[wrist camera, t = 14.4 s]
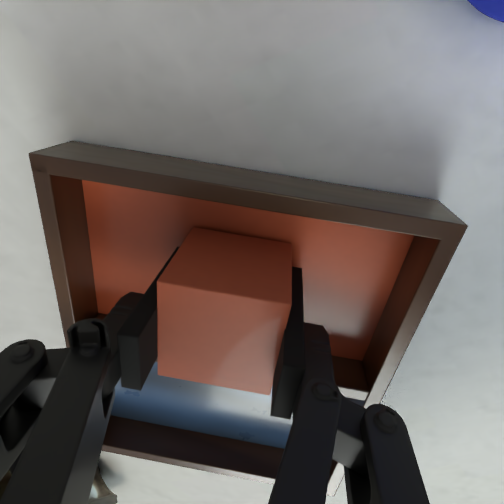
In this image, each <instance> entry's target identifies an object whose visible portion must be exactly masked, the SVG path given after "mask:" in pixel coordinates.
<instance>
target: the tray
mask: <svg viewBox="0 0 504 504" xmlns="http://www.w3.org/2000/svg"><path fill="white" fill-rule="evenodd" d="M29 158H30V163H31V168H32V172H33V177H34V182H35V188H36V193H37V198H38V203H39V208H40V213H41V218H42V224H43V229H44V234H45V239H46V244H47V249H48V254H49V259H50V265H51V270H52V275H53V280H54V285H55V290H56V295H57V301H58V306H59V311H60V316H61V321H62V326H63V331H64V337H65V342H66V347H67V348H69V347H70V346H69V340H68V335H67V330H68V329H69V327H70V326H71V325H73V324H74V323H76V322H77V321H80V320H83V319H88V318H97V319H101V320H103V319H104V318H105V317H106V316H107V314H108V313H110V311H111V309H112V308H113V307H115V304H116V303H117V302H118V301H119V299H120V298H121V297H123V296H124V295H126V294H127V293H129V292H136V293H142V294H145V292H146V291H147V289H148V288H149V286H150V285H151V283H152V282H153V281H154V279H155V278H156V276H157V275H158V273H159V272H160V271H161V269H162V268H163V266H164V265H165V263H166V262H167V261H168V259H169V258H170V256H171V255H172V253H173V252H174V250H175V249H176V248H177V246H178V247H180V246H181V245H182V243H183V242H184V240H185V239H186V237H187V236H188V234H189V233H190V231H191V230H192V228H193V227H195V228H201V229H207V230H213V231H219V232H225V233H231V234H237V235H243V236H249V237H255V238H261V239H266V240H272V241H278V242H284V243H290V244H292V266H293V267H298V268H302V278H303V306H304V322H306V323H312V324H317V325H323V326H324V328H325V329H326V331H327V332H328V334H329V340H330V347H331V355H332V363H333V370H334V378H335V383H336V385H337V386H338V388H339V390H340V392H341V394H342V395H343V396H345V397H346V398H347V399H348V400H350V401H352V402H353V403H355V404H358V405H360V406H362V407H364V408H366V409H367V407H368V406H370V405H372V404H380V402H381V400H382V398H383V396H384V394H385V392H386V390H387V388H388V386H389V384H390V382H391V380H392V378H393V376H394V374H395V372H396V370H397V368H398V365H399V363H400V361H401V359H402V357H403V355H404V353H405V351H406V349H407V347H408V345H409V343H410V341H411V339H412V337H413V335H414V333H415V331H416V329H417V327H418V325H419V323H420V321H421V319H422V317H423V315H424V313H425V311H426V309H427V307H428V305H429V303H430V301H431V299H432V297H433V295H434V293H435V291H436V289H437V287H438V285H439V283H440V281H441V279H442V277H443V275H444V273H445V271H446V269H447V267H448V265H449V263H450V261H451V259H452V256H453V254H454V252H455V250H456V248H457V246H458V244H459V242H460V241H461V239H462V237H463V235H464V233H465V231H466V229H467V227H468V225H467V224H465V223H464V222H463V221H462V220H461V219H460V218H458V217H457V216H456V215H455V214H454V213H453V212H451V211H450V210H449V209H448V208H447V207H446V206H444V205H443V204H442V203H441V202H440V201H438V200H433V199H426V198H420V197H414V196H408V195H402V194H396V193H390V192H383V191H377V190H371V189H365V188H359V187H353V186H347V185H340V184H334V183H328V182H322V181H316V180H310V179H304V178H297V177H291V176H285V175H279V174H273V173H267V172H261V171H254V170H248V169H242V168H236V167H230V166H224V165H218V164H211V163H205V162H199V161H193V160H187V159H181V158H175V157H168V156H162V155H156V154H150V153H144V152H138V151H132V150H125V149H119V148H113V147H107V146H101V145H95V144H89V143H82V142H76V141H69V142H66V143H62V144H59V145H55V146H52V147H48V148H45V149H41V150H38V151H34V152H31V153H29ZM272 386H273V385H272ZM271 400H272V389H271V393H270V395H264V394H258V393H253V392H248V391H242V390H237V389H231V388H226V387H220V386H215V385H210V384H204V383H199V382H193V381H188V380H183V379H177V378H172V377H166V376H161V375H158V357H157V359H156V361H155V363H154V365H153V367H152V369H151V371H150V373H149V375H148V377H147V379H146V381H145V383H144V385H143V387H142V389H141V391H139V390H134V389H129V388H124V387H121V378H120V379H119V381H118V383H117V384H116V386H115V399H114V403H113V407H112V410H111V414H110V418H109V422H108V426H107V430H106V434H105V438H104V441H103V445H102V449H101V451H106V452H111V453H116V454H121V455H126V456H131V457H136V458H142V459H147V460H152V461H157V462H162V463H167V464H172V465H177V466H182V467H187V468H192V469H197V470H202V471H207V472H212V473H217V474H222V475H227V476H232V477H238V478H243V479H248V480H253V481H258V482H263V483H268V484H273V485H274V482H275V479H276V476H277V472H278V469H279V466H280V462H281V459H282V456H283V452H284V449H285V446H286V442H287V439H288V436H289V432H290V429H291V426H292V423H293V413H292V416H291V419H290V420H289V419H284V418H279V417H274V416H270V413H271ZM343 476H344V465H342V464H340V463H338V462H337V461H335V460H333V459H332V464H331V470H330V476H329V482H328V488H327V494H326V495H329V496H334V495H335V493H336V491H337V489H338V487H339V485H340V483H341V481H342V479H343Z"/></svg>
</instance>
